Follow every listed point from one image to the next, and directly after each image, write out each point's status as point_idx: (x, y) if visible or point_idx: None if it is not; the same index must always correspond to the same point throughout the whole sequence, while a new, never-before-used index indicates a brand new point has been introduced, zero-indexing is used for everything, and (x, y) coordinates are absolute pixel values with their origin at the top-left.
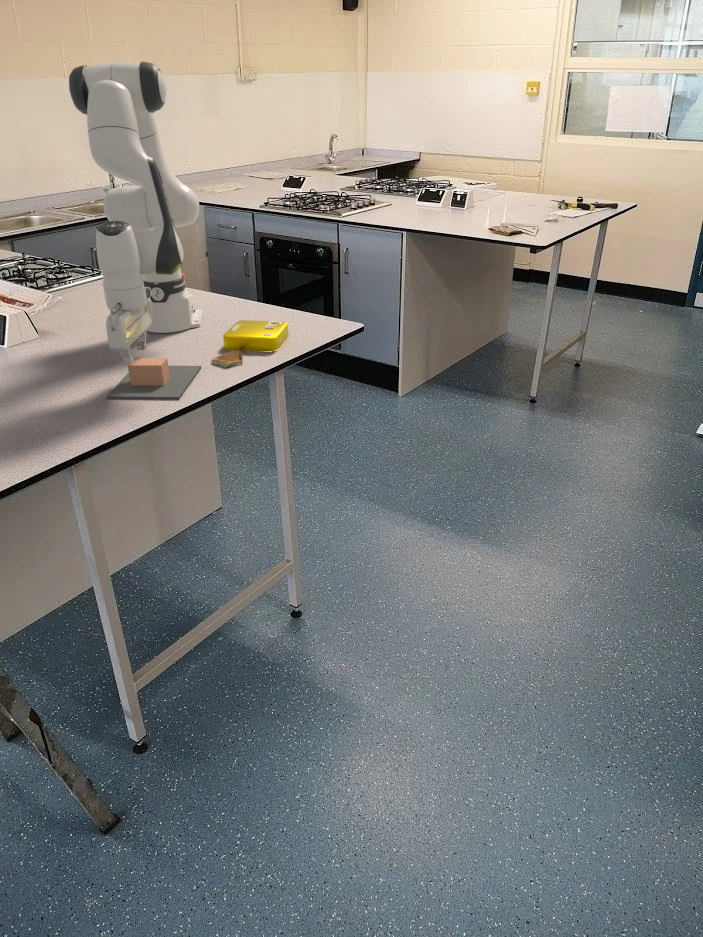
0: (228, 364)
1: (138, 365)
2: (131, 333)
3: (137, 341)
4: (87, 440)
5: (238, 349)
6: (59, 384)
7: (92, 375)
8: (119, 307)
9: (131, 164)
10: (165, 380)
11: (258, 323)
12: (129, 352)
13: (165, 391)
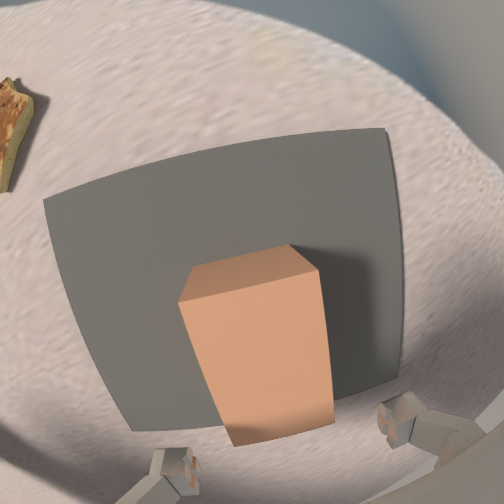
0: (29, 96)
1: (331, 385)
2: (495, 497)
3: (179, 498)
4: None
5: None
6: (302, 493)
7: (232, 480)
8: None
9: None
10: (263, 253)
11: None
12: (450, 421)
13: (349, 205)
